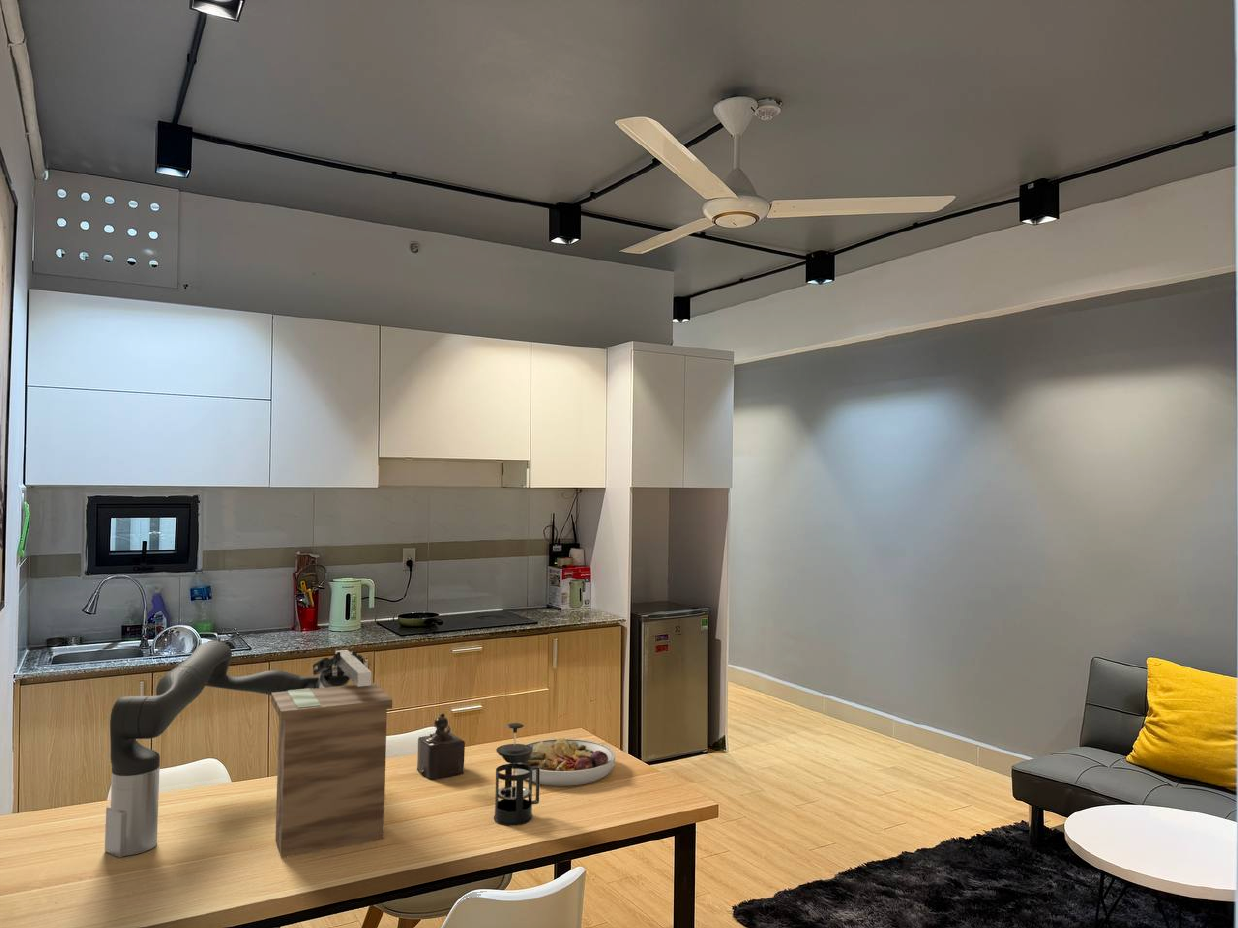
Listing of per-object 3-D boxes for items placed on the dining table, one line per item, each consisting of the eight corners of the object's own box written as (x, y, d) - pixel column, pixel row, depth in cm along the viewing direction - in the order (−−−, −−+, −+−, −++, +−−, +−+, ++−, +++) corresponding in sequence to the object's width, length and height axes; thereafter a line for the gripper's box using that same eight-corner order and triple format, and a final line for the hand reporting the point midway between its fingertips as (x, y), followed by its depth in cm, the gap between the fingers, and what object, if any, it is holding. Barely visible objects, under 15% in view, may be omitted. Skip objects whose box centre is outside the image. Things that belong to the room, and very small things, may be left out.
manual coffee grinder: (413, 770, 238) (415, 707, 238) (449, 763, 244) (451, 701, 245) (435, 786, 225) (437, 719, 226) (472, 779, 231) (474, 714, 232)
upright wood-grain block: (388, 839, 191) (392, 698, 192) (276, 860, 179) (281, 710, 180) (371, 812, 207) (374, 682, 208) (267, 829, 195) (271, 691, 196)
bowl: (489, 777, 234) (490, 749, 234) (547, 749, 260) (548, 723, 260) (581, 797, 220) (582, 767, 220) (632, 765, 246) (633, 738, 246)
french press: (498, 828, 198) (500, 731, 199) (486, 814, 207) (488, 721, 207) (544, 821, 203) (546, 726, 204) (531, 807, 212) (533, 716, 212)
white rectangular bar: (371, 685, 189) (371, 671, 190) (357, 686, 188) (358, 673, 188) (347, 661, 214) (347, 649, 214) (335, 662, 213) (335, 650, 213)
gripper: (306, 665, 219) (316, 642, 206) (360, 661, 226) (373, 638, 213) (307, 693, 215) (317, 672, 203) (362, 688, 222) (376, 667, 209)
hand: (346, 655), depth 208 cm, fingers closed on white rectangular bar, 3 cm apart
